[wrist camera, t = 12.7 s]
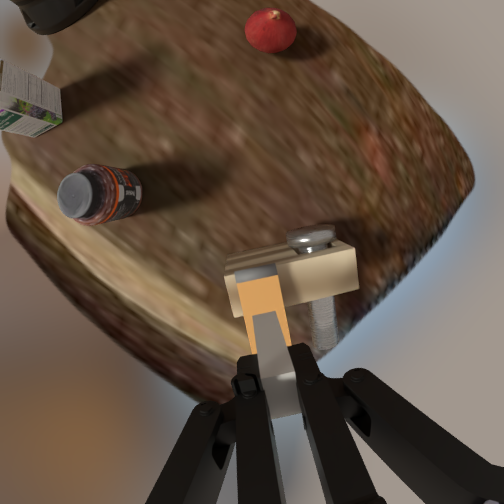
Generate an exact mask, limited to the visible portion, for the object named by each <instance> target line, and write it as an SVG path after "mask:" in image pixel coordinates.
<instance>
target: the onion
mask: <svg viewBox="0 0 504 504" xmlns="http://www.w3.org/2000/svg"><path fill="white" fill-rule="evenodd" d="M296 33H297V30H296V26H295V22H294V20H293V19H292V18H291V17H290V15H289V14H287V13H286V12H284V11H283V10H280V9H277V8H264V9H261V10H258V11H256V12H254V13H253V14H252V15H251V17H250V18H249V19H248V20H247V22H246V26H245V34H246V38H247V40H248V42H249V43H250V44H251V45H252V46H253V47H254V48H256V49H258V50H259V51H262V52H266V53H277V52H280V51H282V50H285V49H287V48H288V47H289V46H290V45H291V44H292V43H293V42H294V40H295V37H296Z"/></svg>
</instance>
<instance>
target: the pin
mask: <svg viewBox="0 0 504 504" xmlns="http://www.w3.org/2000/svg"><path fill="white" fill-rule="evenodd" d="M286 238H287V243H288V246H289V247H292V248H298V249H299V254H305V253H309V252H314V251H319V250H323V249H328V245H327V243H329V242H332V241H334V240H335V239H336V232H335V226H334V225H332V224H319V225H311V226H305V227H301V228H297V229H293V230H291V231H288V232H287V233H286ZM307 305H308V312H309V318H310V326H311V333H312V340H313V346H314V347H315V348H317V349H320V350H326V349H331V348H333V347H335V346H336V345H337V344H338V342H339V339H338V328H337V317H336V307H335V298H334V295H333V296H329V297H325V298H321V299H317V300H313V301H308V302H307Z"/></svg>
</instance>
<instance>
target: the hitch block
mask: <svg viewBox="0 0 504 504" xmlns="http://www.w3.org/2000/svg"><path fill="white" fill-rule="evenodd" d="M327 245H328V249H323V250H319V251H314V252H309V253H305V254H299V249H298V248H292V247H289V246H288V243H287V242H285V243H281V244H276V245H271V246H266V247H262V248H257V249H252V250H247V251H243V252H238V253H233V254H228V255H227V261H226V267H225V274H224V278H225V282H226V287H227V291H228V295H229V299H230V303H231V307H232V311H233V315H234V317H239V316H244V315H243V311H242V306H241V302H240V297H239V293H238V288H237V284H236V280H235V274H234V271H239V270H244V269H248V268H253V267H258V266H263V265H267V264H272V263H275V264H276V268H277V273H278V278H279V283H280V288H281V293H282V298H283V304H284V307H287V306H291V305H296V304H300V303H304V302H308V301H313V300H317V299H321V298H325V297H329V296H333V295H337V294H341V293H345V292H349V291H352V290H356V289H359V283H358V273H357V263H356V254H355V248H354V247H352V246H350V245H348V244H346V243H344V242H342V241H340V240H338V239H335V240H334V241H332V242H329V243H327Z"/></svg>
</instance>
